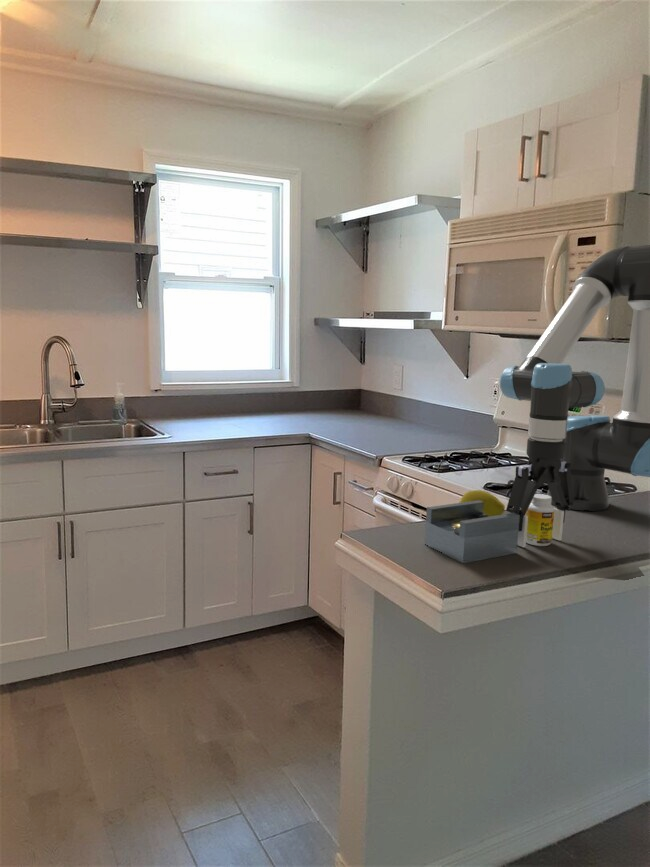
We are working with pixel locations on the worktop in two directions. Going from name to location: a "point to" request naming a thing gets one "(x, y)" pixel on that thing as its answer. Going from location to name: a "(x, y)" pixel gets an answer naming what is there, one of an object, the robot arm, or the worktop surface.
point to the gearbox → (470, 531)
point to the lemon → (485, 502)
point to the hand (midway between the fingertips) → (537, 541)
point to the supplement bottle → (540, 520)
